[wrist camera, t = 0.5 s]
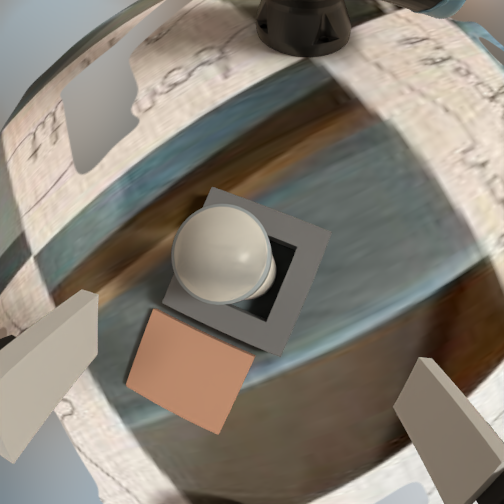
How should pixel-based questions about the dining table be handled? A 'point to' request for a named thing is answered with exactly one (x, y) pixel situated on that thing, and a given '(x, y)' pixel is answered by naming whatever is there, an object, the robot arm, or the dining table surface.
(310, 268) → the frame
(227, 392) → the rubber mat
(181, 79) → the dining table surface
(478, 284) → the dining table surface
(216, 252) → the filter cartridge
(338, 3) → the robot arm
